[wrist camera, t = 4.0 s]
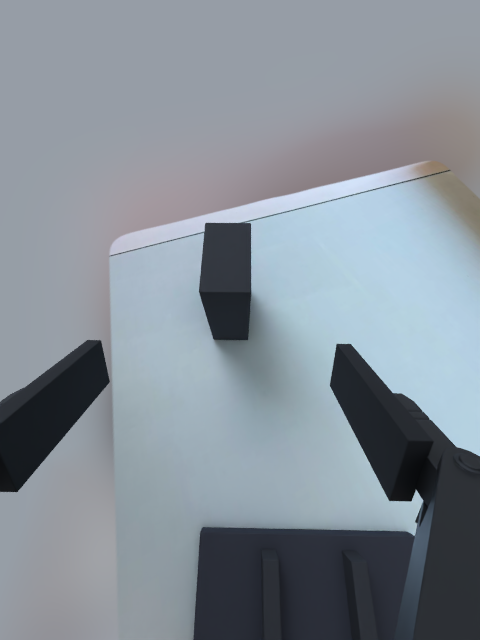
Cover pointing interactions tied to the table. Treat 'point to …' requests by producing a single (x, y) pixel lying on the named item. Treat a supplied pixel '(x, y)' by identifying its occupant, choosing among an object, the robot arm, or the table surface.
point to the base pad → (300, 584)
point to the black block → (227, 279)
